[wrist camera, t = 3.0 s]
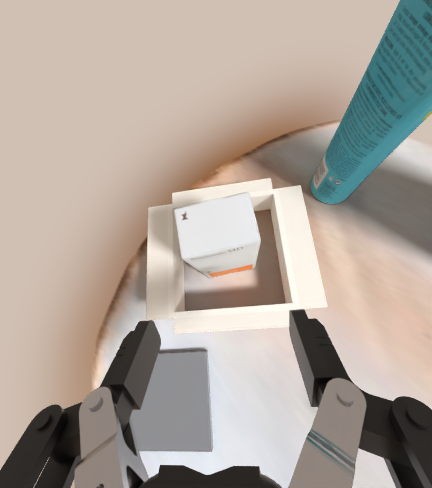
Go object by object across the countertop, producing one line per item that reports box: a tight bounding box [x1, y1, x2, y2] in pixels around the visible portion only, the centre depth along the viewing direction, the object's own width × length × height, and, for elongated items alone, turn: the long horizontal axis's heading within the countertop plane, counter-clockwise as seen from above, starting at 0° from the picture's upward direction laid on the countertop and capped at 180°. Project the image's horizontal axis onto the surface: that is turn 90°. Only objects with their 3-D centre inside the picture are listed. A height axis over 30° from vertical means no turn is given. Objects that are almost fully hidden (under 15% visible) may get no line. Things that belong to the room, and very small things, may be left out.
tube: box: [311, 0, 432, 204], centre depth 18 cm, size 7×5×19 cm, turn 20°
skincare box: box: [174, 192, 261, 278], centre depth 21 cm, size 6×4×12 cm
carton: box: [146, 178, 327, 334], centre depth 25 cm, size 18×16×4 cm
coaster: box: [130, 351, 213, 452], centre depth 23 cm, size 9×9×1 cm
